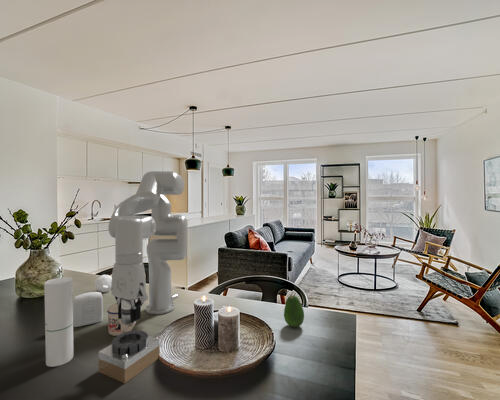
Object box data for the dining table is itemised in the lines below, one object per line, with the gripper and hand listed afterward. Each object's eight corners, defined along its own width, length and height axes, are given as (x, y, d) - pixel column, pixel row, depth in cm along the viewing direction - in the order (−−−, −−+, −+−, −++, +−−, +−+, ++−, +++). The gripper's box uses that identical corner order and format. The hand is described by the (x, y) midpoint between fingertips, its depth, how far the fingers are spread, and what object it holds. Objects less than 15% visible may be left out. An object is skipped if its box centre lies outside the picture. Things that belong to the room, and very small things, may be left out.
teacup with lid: (102, 333, 101) (101, 302, 101) (122, 322, 109) (122, 294, 109) (125, 340, 96) (124, 308, 96) (144, 328, 104) (144, 299, 104)
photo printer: (102, 317, 114) (102, 288, 113) (103, 322, 110) (103, 291, 110) (73, 324, 108) (72, 293, 108) (73, 329, 104) (72, 297, 104)
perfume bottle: (91, 286, 145) (92, 296, 135) (97, 270, 146) (98, 279, 136) (109, 288, 150) (111, 298, 140) (114, 272, 150) (117, 281, 140)
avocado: (285, 320, 112) (285, 291, 111) (305, 323, 109) (305, 293, 109) (282, 329, 104) (282, 299, 104) (302, 333, 102) (302, 301, 101)
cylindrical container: (69, 350, 90) (67, 275, 90) (77, 358, 86) (75, 280, 85) (42, 360, 85) (41, 281, 84) (49, 369, 80) (48, 286, 80)
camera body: (135, 348, 91) (134, 325, 91) (159, 357, 86) (159, 333, 86) (98, 371, 79) (98, 345, 79) (124, 383, 75) (124, 355, 74)
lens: (130, 316, 85) (130, 293, 85) (140, 319, 83) (140, 296, 83) (117, 322, 81) (117, 298, 81) (128, 325, 79) (128, 301, 79)
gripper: (99, 258, 82) (99, 318, 82) (139, 264, 75) (139, 330, 75) (120, 253, 89) (120, 309, 89) (159, 259, 81) (159, 319, 82)
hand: (129, 318), depth 82 cm, fingers closed on lens, 4 cm apart
